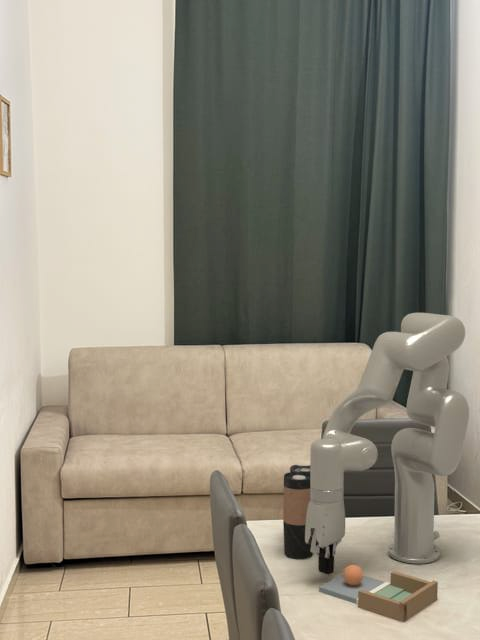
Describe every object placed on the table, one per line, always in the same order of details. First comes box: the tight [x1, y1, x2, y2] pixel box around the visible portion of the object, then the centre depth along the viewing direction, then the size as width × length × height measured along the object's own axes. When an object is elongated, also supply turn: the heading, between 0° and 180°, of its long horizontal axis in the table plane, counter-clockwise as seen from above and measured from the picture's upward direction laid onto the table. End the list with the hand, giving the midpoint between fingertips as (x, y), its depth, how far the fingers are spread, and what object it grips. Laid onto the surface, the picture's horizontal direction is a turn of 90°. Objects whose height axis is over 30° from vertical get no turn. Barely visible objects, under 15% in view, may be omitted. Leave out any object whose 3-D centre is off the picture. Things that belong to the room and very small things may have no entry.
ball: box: [342, 564, 364, 585], centre depth 190 cm, size 4×4×4 cm
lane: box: [318, 570, 439, 623], centre depth 186 cm, size 14×22×4 cm, turn 49°
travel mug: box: [282, 472, 314, 560], centre depth 211 cm, size 8×8×20 cm
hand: (326, 572), depth 195 cm, fingers closed
